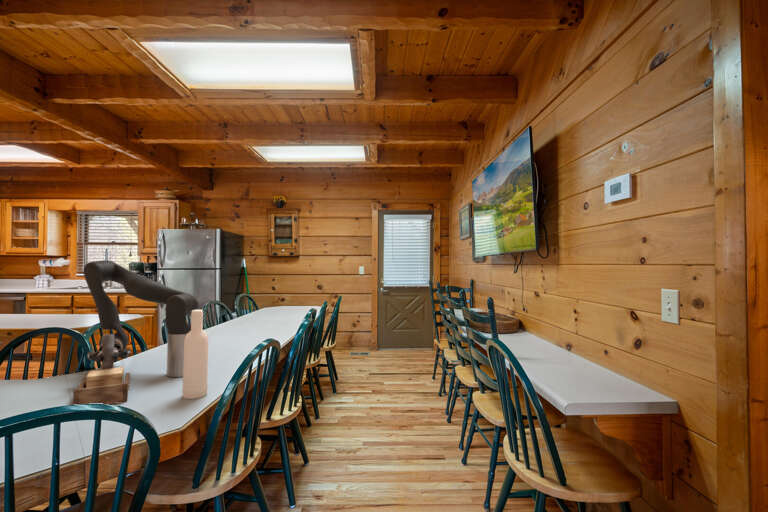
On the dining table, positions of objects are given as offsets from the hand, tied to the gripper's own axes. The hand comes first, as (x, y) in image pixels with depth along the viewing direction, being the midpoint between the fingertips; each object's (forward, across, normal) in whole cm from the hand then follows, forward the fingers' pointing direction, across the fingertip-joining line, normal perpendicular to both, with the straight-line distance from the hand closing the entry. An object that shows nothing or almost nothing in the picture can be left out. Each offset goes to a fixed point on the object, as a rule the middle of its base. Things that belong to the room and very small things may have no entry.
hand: (107, 358), depth 138 cm
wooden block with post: (+2, 0, +10) cm, 10 cm away
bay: (+8, 0, +11) cm, 14 cm away
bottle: (+22, +27, +11) cm, 37 cm away
